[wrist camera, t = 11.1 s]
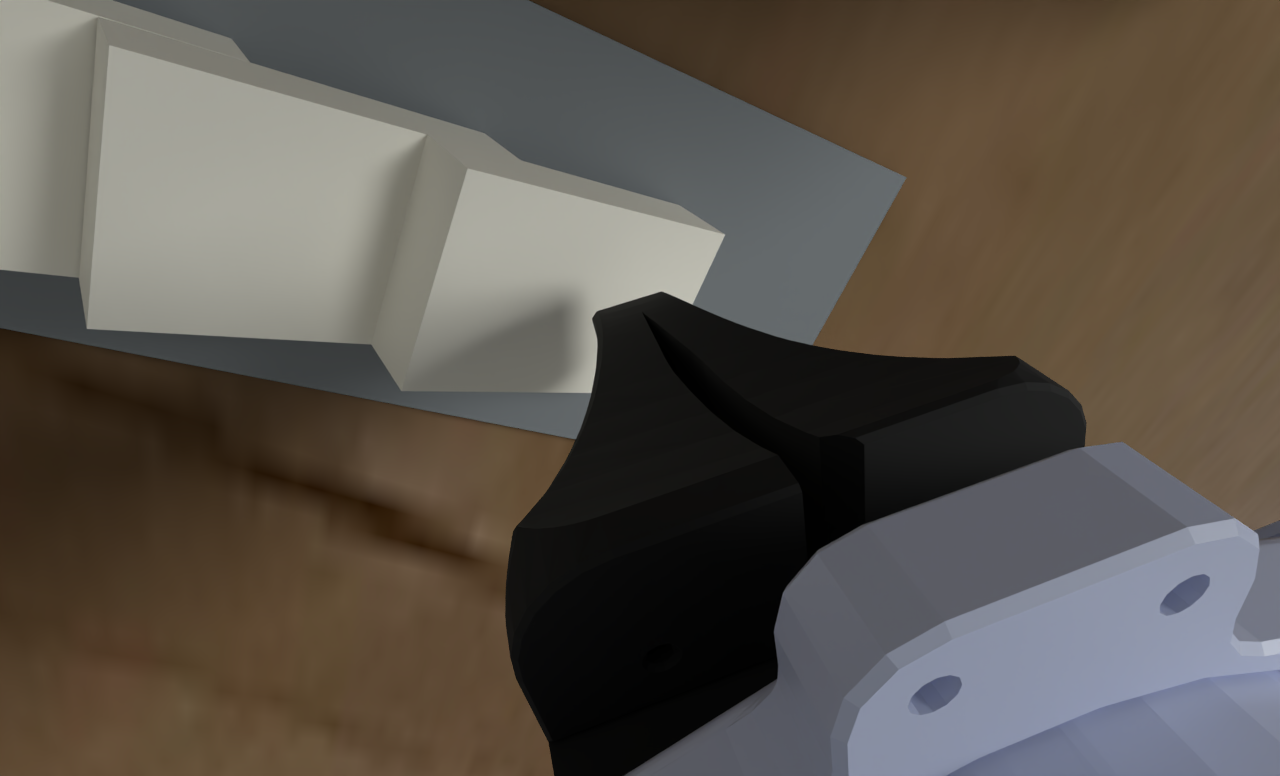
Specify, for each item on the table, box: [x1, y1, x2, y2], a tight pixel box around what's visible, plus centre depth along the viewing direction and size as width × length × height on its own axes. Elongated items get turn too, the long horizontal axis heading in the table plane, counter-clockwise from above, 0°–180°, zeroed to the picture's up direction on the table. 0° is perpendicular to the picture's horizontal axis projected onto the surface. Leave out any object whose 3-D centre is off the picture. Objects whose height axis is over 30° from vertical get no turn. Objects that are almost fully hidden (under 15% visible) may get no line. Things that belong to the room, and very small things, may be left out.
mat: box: [0, 0, 906, 439], centre depth 13 cm, size 26×9×1 cm, turn 67°
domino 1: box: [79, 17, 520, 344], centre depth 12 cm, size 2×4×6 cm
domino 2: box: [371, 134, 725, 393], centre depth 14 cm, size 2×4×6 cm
